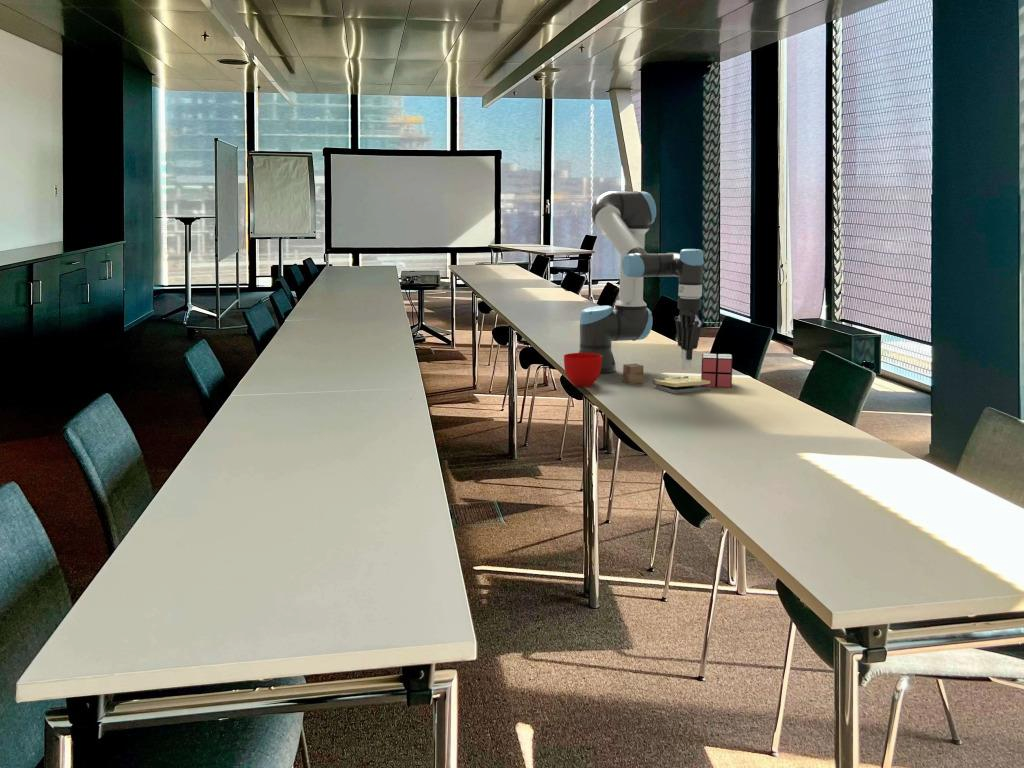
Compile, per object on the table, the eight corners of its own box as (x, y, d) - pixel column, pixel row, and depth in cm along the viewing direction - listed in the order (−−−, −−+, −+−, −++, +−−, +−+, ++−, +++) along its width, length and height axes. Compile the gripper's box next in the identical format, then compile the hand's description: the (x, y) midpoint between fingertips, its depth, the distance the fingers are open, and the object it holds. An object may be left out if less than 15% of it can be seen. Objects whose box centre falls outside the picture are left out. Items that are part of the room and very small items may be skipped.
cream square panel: (686, 381, 327) (686, 376, 327) (710, 384, 316) (710, 379, 315) (651, 384, 322) (651, 379, 321) (674, 388, 310) (674, 382, 309)
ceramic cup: (608, 380, 333) (609, 352, 331) (596, 389, 317) (597, 359, 315) (572, 378, 337) (572, 350, 335) (558, 387, 321) (559, 357, 319)
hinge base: (686, 383, 328) (686, 375, 327) (709, 390, 316) (710, 382, 315) (651, 386, 322) (651, 378, 321) (674, 393, 310) (674, 385, 310)
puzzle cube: (731, 388, 320) (732, 358, 318) (700, 387, 322) (702, 357, 320) (730, 383, 330) (732, 354, 328) (701, 381, 332) (702, 353, 330)
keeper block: (622, 381, 332) (623, 364, 330) (635, 380, 334) (635, 363, 333) (630, 384, 327) (631, 366, 326) (643, 383, 329) (643, 365, 328)
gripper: (668, 295, 314) (665, 366, 319) (692, 300, 303) (688, 373, 308) (687, 294, 318) (684, 364, 322) (711, 299, 306) (707, 371, 311)
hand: (686, 369), depth 315 cm, fingers closed
